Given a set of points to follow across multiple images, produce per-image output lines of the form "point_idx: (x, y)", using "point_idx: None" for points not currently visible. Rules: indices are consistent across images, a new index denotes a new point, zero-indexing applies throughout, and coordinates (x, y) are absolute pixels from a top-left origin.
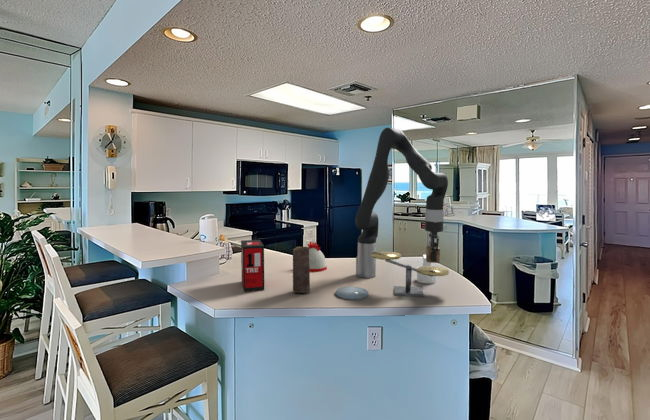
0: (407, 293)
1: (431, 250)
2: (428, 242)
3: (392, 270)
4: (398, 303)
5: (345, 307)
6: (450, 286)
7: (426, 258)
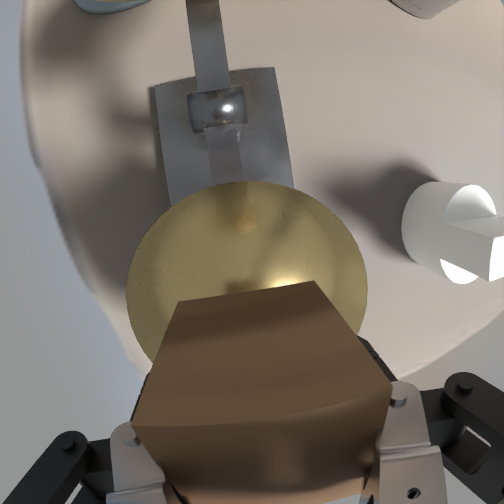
0: (162, 144)
1: (64, 439)
2: (412, 475)
3: (499, 97)
4: (63, 134)
5: (21, 19)
6: (374, 327)
7: (257, 302)
